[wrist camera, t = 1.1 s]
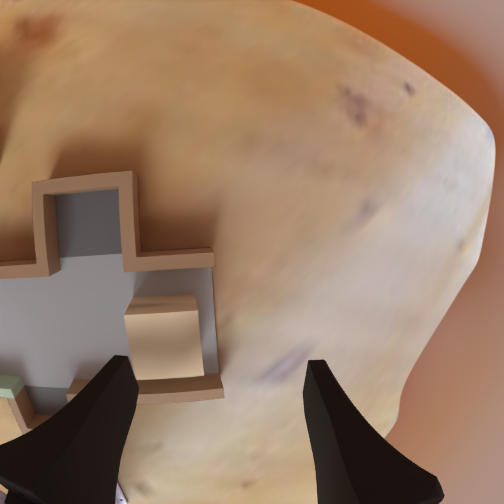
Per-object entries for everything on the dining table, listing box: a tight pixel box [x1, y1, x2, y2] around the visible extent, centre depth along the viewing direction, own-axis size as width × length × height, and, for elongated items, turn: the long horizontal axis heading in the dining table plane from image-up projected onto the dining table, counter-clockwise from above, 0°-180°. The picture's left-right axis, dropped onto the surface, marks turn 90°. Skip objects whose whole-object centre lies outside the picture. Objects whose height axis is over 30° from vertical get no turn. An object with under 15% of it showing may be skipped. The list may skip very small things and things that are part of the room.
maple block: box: [124, 293, 204, 380], centre depth 22 cm, size 5×5×4 cm
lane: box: [0, 171, 224, 435], centre depth 21 cm, size 22×27×3 cm
